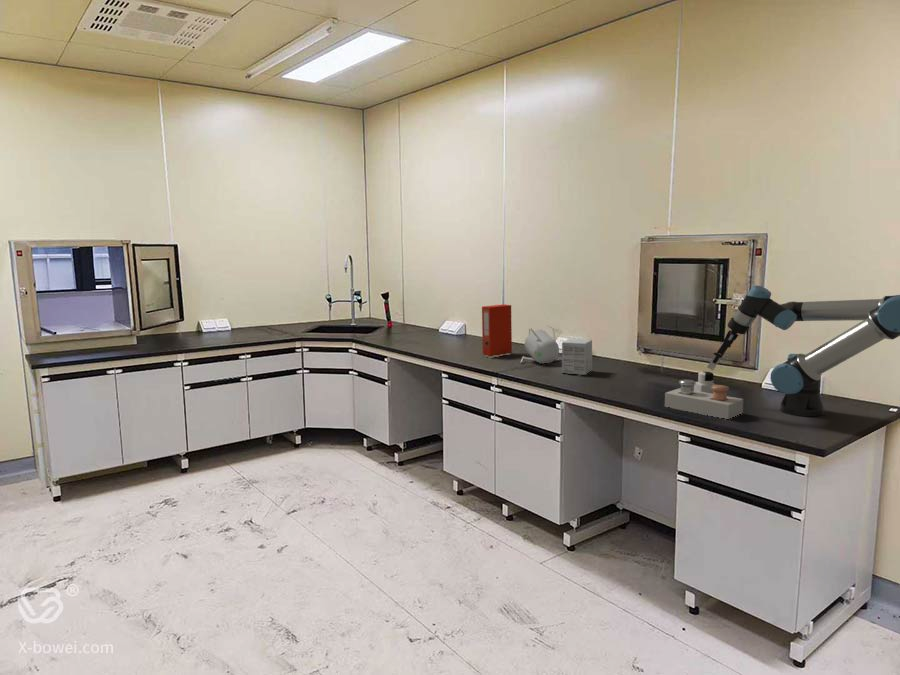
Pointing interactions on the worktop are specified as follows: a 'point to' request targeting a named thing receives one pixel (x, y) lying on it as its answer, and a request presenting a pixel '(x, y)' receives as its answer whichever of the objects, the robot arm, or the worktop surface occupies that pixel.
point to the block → (704, 404)
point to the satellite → (541, 346)
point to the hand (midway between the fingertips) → (713, 363)
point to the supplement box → (577, 356)
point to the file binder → (496, 329)
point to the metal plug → (687, 387)
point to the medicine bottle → (704, 382)
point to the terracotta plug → (720, 392)
